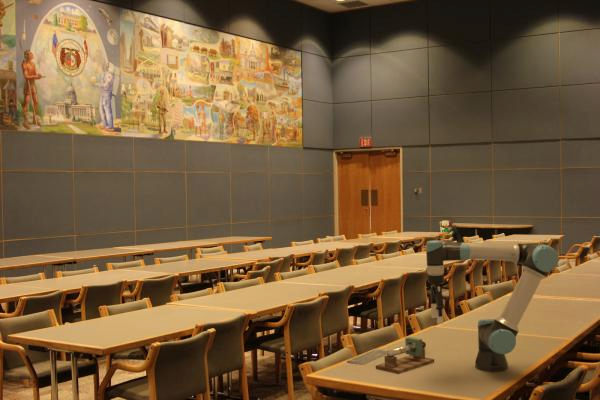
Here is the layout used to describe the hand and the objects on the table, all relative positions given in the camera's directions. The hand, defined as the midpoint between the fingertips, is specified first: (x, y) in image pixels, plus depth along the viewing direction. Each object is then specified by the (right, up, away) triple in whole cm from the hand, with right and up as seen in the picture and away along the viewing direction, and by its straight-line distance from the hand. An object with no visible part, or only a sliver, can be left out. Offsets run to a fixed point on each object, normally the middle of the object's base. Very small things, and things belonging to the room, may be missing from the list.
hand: (437, 320), depth 316 cm
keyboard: (-27, -27, +40) cm, 55 cm away
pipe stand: (-11, -26, +22) cm, 36 cm away
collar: (-6, -22, +27) cm, 35 cm away
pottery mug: (-2, -25, +49) cm, 55 cm away
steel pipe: (-12, -20, +22) cm, 31 cm away
